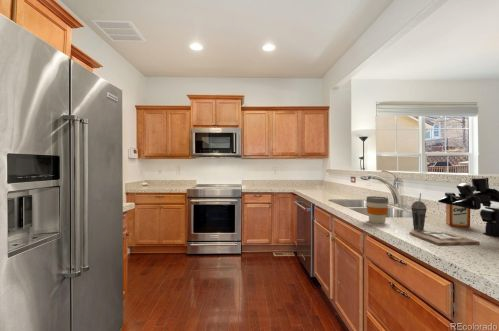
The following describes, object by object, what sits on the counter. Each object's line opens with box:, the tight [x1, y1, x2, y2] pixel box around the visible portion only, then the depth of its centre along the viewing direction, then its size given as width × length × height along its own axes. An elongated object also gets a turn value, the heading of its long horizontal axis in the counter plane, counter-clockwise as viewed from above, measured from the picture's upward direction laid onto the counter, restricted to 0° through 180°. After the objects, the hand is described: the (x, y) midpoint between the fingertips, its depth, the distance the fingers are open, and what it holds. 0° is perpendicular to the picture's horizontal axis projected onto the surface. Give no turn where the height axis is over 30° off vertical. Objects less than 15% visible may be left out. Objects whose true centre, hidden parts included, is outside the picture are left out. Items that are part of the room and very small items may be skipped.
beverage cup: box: [410, 193, 427, 231], centre depth 142 cm, size 7×7×20 cm
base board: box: [409, 230, 480, 246], centre depth 124 cm, size 20×18×2 cm
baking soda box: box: [445, 204, 471, 228], centre depth 151 cm, size 10×6×16 cm
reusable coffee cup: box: [365, 195, 389, 224], centre depth 161 cm, size 12×13×15 cm
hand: (445, 202), depth 130 cm, fingers open, 9 cm apart
